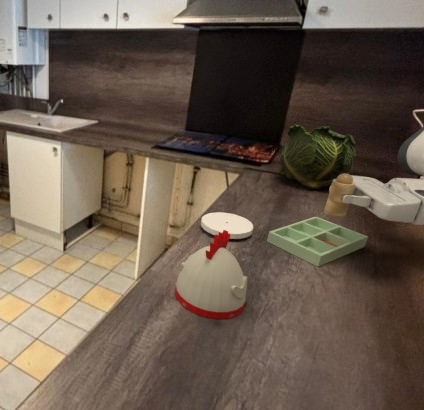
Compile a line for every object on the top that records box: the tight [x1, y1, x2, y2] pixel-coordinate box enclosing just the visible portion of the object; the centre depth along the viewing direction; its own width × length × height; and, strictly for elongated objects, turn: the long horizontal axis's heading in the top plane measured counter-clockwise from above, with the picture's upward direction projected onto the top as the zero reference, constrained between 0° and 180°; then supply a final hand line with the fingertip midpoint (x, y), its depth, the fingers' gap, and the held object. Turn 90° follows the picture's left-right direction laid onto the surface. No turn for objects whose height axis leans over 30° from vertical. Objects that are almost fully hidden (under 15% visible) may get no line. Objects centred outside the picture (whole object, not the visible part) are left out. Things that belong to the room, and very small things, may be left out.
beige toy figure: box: [323, 173, 356, 218], centre depth 84 cm, size 4×4×10 cm
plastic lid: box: [200, 211, 254, 240], centre depth 103 cm, size 14×14×2 cm
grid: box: [266, 216, 369, 268], centre depth 95 cm, size 14×21×3 cm
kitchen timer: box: [174, 230, 248, 320], centre depth 73 cm, size 14×14×15 cm
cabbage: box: [278, 124, 358, 191], centre depth 135 cm, size 25×24×23 cm
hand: (336, 193), depth 84 cm, fingers closed on beige toy figure, 4 cm apart
